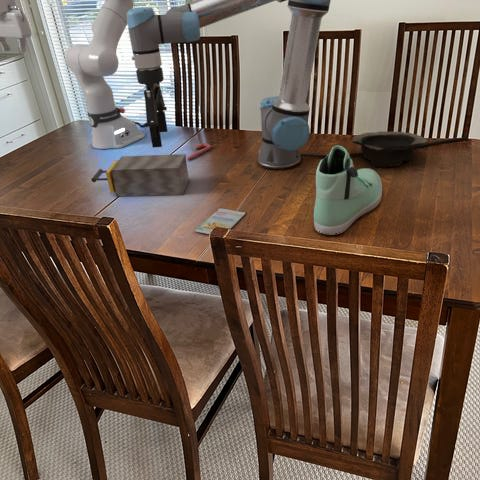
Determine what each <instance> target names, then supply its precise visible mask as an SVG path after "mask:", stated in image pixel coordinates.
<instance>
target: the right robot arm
mask: <svg viewBox="0 0 480 480" xmlns="http://www.w3.org/2000/svg"><path fill="white" fill-rule="evenodd" d="M275 1H276V2H277V3H283V2H286V1H287V8H288V9H289V10H290V13H291V17H290V21H289V22H290V23H289V29H288V35H287V42H286V49H285V55H284V62H283V68H282V75H281V81H280V87H279V94H278V95H276V96H270V97H265V98H263V99H261V101H260V107H259V110H260V123H261V124H260V125H261V145H260V148H259V150H258V156H257V163H258V165H259V166H260V167H261V168H263V169H267V170H272V171H282V170H288V169H293V168H295V167H297V166H299V165H300V164H301V161H302V158H325V157H326V156H327V155H329V154H330V153H329V154H314V153H312V154H311V153H310V154H309V153H300V149H301V148H303V147H304V146H305V145H306V143H308V141H309V139H310V135H311V129H310V124H309V123H308V121H309V116H310V110H311V107H310V106H309V104H308V102H307V100H308V95H309V89H310V83H311V77H312V73H313V68H314V63H315V56H316V51H317V46H318V40H319V35H320V29H321V25H322V20H323V17H324V16H326V15H327V14H328V13H329V10H330V5H331V0H193V1H191V2H189V3H185V4H183V5H180V6H174V7H171V8H169V9H168V10H167V11H166V13H163V14H156V13H155V11H154V8H153V7H149V6H148V7H147V6H145V7H136V8H133V9H130V10H129V11H128V12H127V22H128V24H127V30H128V35H129V39H130V41H129V42H130V45H131V51H132V54H133V55H132V57H131V60H132V61H134V67H135V68H136V70H135V73H136V79H137V83H138V84H140V85H145V90H143V96H144V103H145V117H146V122H147V124H146V126H145V127H146V128H148V129H149V135H150V140H151V146H152V148H162V147H163V143H162V137H161V133H168V125H167V119H166V112H165V111H167V106H166V104H165V100H164V96H163V92H162V88H161V83H162V82H163V81H164V71H163V68H162V67H161V66H162V65H163V63H162V56H161V51H160V45H165V44H177V43H178V44H179V43H190V42H195V41H199V40H200V38H201V29H202V28H205V27H208V26H210V25H213V24H215V23H218V22H221V21H223V20H226V19H229V18H231V17H234V16H237V15H241V14H243V13H246V12H248V11H251V10H254V9H257V8H259V7H262V6H264V5H267V4H270V3H273V2H275ZM468 139H469V137H468V136H463V137H462V136H461V137H452V138H447V139H446V138H445V139H441V140H436V141H430V142H426V143H424V144H422V145H420V146H417V147H414V149H418V148H423V147H428V146H432V145H439V144H444V143H450V142H457V141H465V140H467V141H468ZM348 153H349V156H350V157H360V156H361V157H362V156H365V155H364V154H363V153H362V152H351V153H350V152H348Z"/></svg>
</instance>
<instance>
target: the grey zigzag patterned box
mask: <svg viewBox="0 0 480 480" xmlns="http://www.w3.org/2000/svg"><path fill="white" fill-rule="evenodd" d="M118 160H119V161H118V162H117V163H116V164H115V166H114V167H113V168H112V170H111V172H112V176H113V180H114V185H115V189H116V191H115V194H116V197H118V198H119V197H150V196H155V197H156V196H183V195H184V193H185V190H186V188H187V185H188V184H189V180H190V179H189V171H188V163H187V156H186V154H185V153H177V154H175V153H173V154H154V155H153V154H152V155H151V154H150V155H149V154H147V155H124V156H123V155H122V156H120V157H119V159H118Z"/></svg>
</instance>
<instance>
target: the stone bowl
mask: <svg viewBox="0 0 480 480" xmlns="http://www.w3.org/2000/svg"><path fill="white" fill-rule="evenodd" d="M351 143H353V144H355V145H358V146H360V149H361V153H363V154H364V155H363V156H364V157H365V158H366V159H367V160H370V161H371V166H373V167H376V168H377V167H380V168H389V167H397V166H400V165H402V162H403V161H404V162H408V161H409V162H410V161H412V160H413V157H414V153H415V148H414V147H417V146H420V145H422V144H425V143H429V140H428V139H427V138H425V137H423V136H421V135H418V134H415V133H412V132H404V131H376V132H375V131H374V132H373V131H372V132H364V133H362V134H356V135H355V136H353V137H352V141H351Z"/></svg>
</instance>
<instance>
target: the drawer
mask: <svg viewBox="0 0 480 480" xmlns="http://www.w3.org/2000/svg"><path fill="white" fill-rule="evenodd" d="M118 161H119V159H115V160H114V161H113V163H112V164H111V165H110V166H109V168H108V169H107V170H103V169H102V168H99V169H98V170H97V171H96V173H95V174H93V176H92V177H91V182H92V183H96V182H98V181H107V184H108V188H109V192H110V194H115V193H116V189H115V185H114V180H113V176H112V172H111V170H112V168H113V167H114V166H115V164H116V163H117V162H118ZM103 174H105V175H106V177H101V176H102V175H103Z"/></svg>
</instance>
